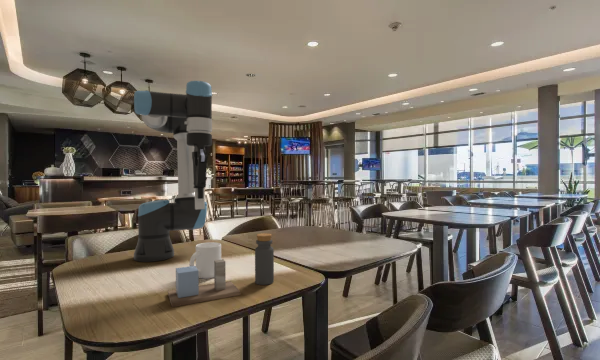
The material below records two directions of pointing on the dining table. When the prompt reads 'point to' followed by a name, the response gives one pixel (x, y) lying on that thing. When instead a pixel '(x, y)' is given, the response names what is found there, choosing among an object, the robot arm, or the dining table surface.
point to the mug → (206, 258)
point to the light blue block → (187, 281)
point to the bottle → (264, 260)
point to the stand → (208, 288)
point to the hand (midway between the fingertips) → (199, 208)
